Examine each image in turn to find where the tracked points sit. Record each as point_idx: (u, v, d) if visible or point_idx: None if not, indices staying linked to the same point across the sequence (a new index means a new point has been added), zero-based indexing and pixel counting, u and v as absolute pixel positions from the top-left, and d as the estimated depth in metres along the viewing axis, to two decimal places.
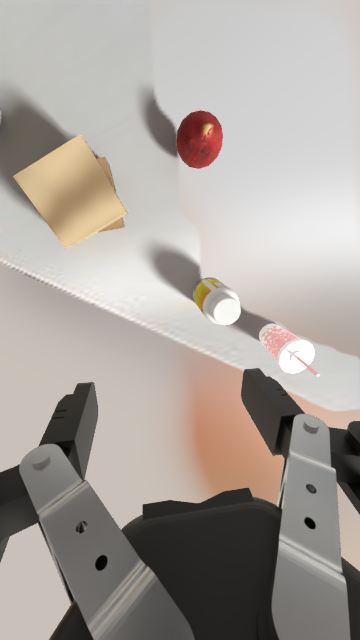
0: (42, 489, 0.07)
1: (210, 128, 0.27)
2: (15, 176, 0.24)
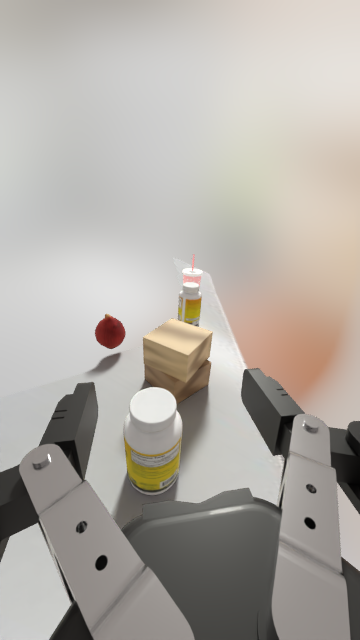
0: (42, 489, 0.07)
1: (107, 314, 0.47)
2: (187, 354, 0.33)
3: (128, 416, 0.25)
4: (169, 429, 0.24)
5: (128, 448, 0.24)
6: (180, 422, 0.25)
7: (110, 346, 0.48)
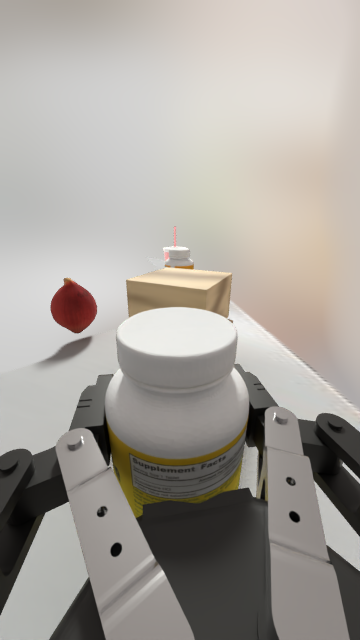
0: (79, 467, 0.07)
1: (67, 278, 0.32)
2: (204, 289, 0.20)
3: (114, 377, 0.10)
4: (226, 386, 0.09)
5: (122, 454, 0.09)
6: (240, 375, 0.11)
7: (75, 325, 0.32)
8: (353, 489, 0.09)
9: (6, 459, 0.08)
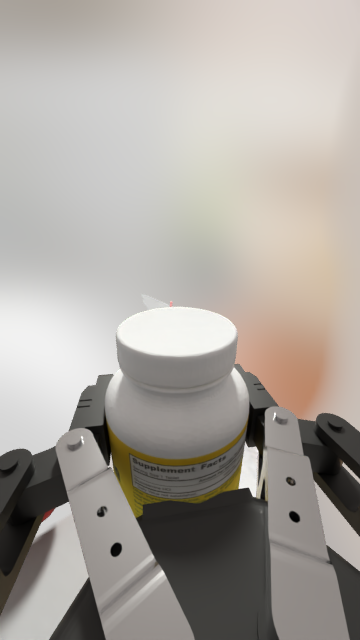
0: (80, 467, 0.07)
1: None
2: None
3: (114, 377, 0.10)
4: (226, 386, 0.09)
5: (122, 454, 0.09)
6: (240, 375, 0.11)
7: None
8: (353, 489, 0.09)
9: (5, 459, 0.08)
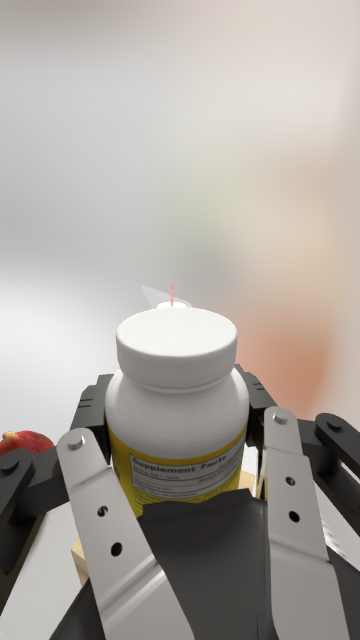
0: (80, 466, 0.07)
1: None
2: None
3: (114, 377, 0.10)
4: (226, 385, 0.09)
5: (122, 454, 0.09)
6: (240, 375, 0.11)
7: None
8: (352, 489, 0.09)
9: (7, 459, 0.08)
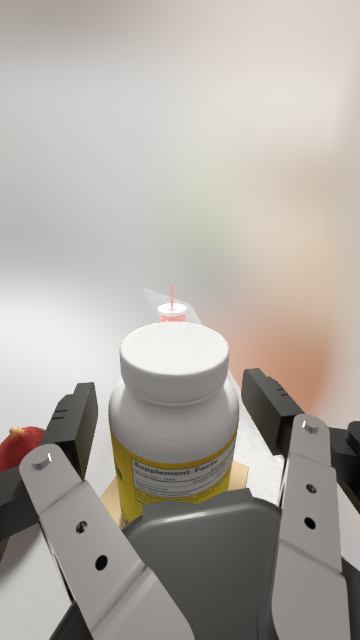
0: (42, 489, 0.07)
1: (16, 427, 0.23)
2: None
3: (117, 387, 0.11)
4: (218, 397, 0.10)
5: (125, 458, 0.10)
6: (232, 386, 0.12)
7: None
8: None
9: None
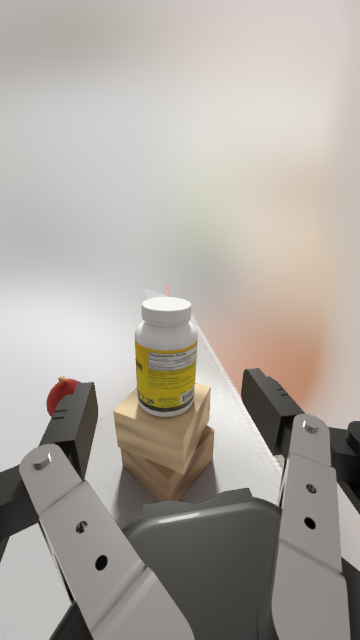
0: (42, 489, 0.07)
1: None
2: (182, 435, 0.22)
3: (138, 326, 0.23)
4: (186, 327, 0.22)
5: (144, 353, 0.22)
6: (194, 327, 0.24)
7: None
8: None
9: None
